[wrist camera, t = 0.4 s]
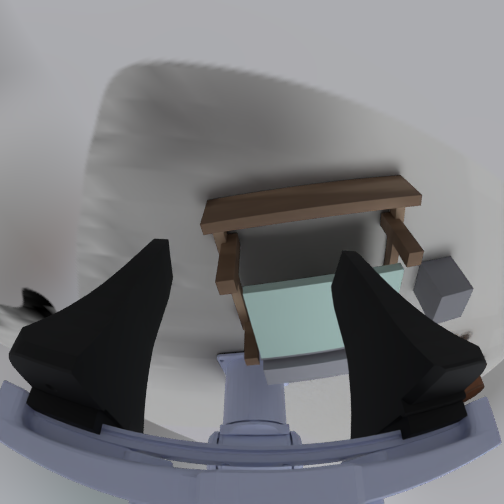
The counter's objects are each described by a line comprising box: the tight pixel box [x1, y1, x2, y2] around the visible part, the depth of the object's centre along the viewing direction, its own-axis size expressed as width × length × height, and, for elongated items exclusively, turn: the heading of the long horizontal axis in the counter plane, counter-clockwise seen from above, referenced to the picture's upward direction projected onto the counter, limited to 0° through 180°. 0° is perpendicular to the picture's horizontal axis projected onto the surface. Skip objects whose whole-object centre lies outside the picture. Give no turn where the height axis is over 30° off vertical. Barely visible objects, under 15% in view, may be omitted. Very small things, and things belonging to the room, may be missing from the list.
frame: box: [200, 175, 424, 366], centre depth 22 cm, size 14×15×6 cm
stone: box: [413, 256, 473, 324], centre depth 23 cm, size 4×4×5 cm
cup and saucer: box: [463, 364, 487, 403], centre depth 40 cm, size 12×12×6 cm
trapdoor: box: [243, 263, 404, 385], centre depth 22 cm, size 12×11×4 cm
